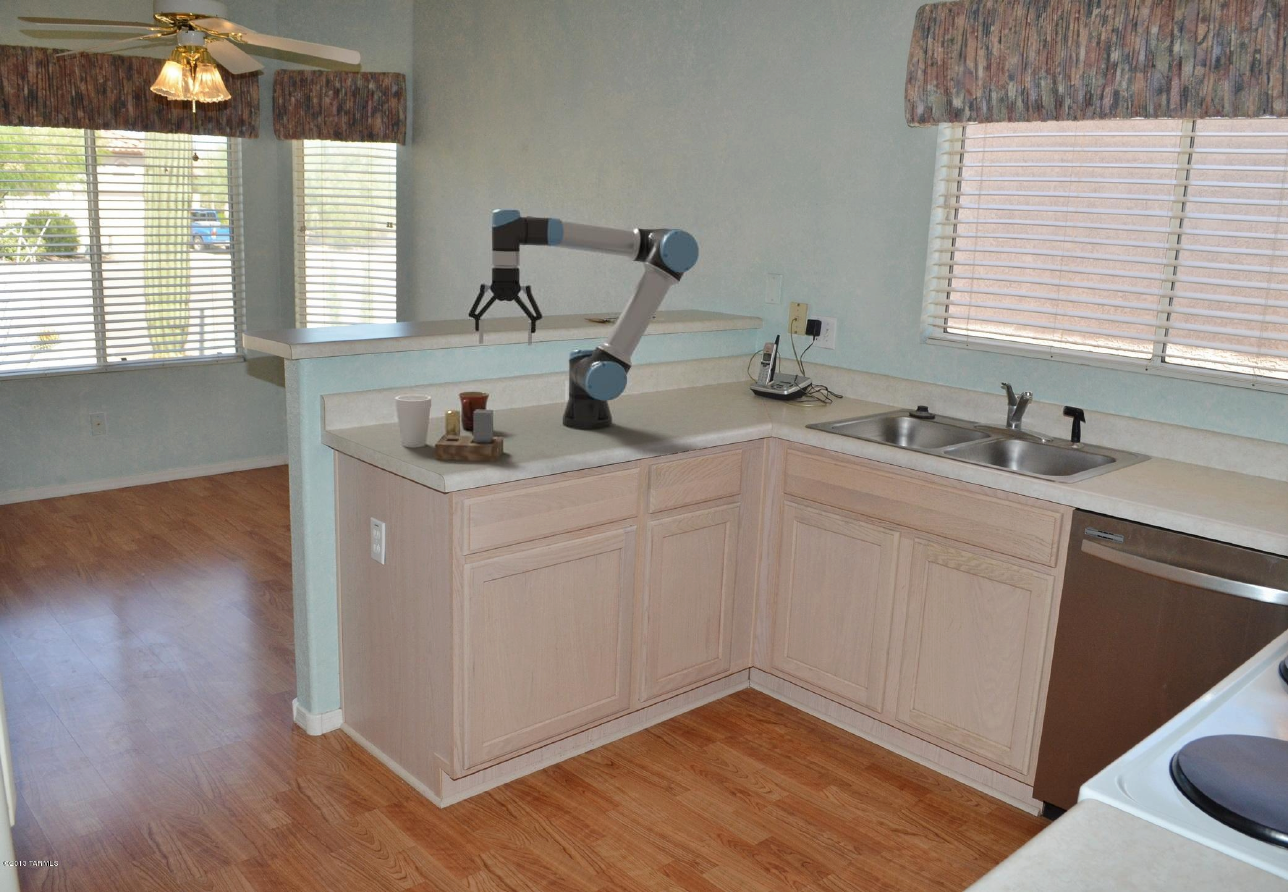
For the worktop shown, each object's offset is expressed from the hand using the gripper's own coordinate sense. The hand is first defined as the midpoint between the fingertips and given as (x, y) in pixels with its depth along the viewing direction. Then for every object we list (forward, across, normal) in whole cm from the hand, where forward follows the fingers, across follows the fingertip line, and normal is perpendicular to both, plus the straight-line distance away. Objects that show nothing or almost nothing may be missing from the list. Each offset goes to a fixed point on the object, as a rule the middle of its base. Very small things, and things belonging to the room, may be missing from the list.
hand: (505, 344), depth 289 cm
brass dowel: (+27, +13, +10) cm, 31 cm away
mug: (+27, +11, -9) cm, 30 cm away
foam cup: (+27, +23, +13) cm, 38 cm away
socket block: (+27, +6, +23) cm, 36 cm away
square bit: (+27, +3, +23) cm, 35 cm away
